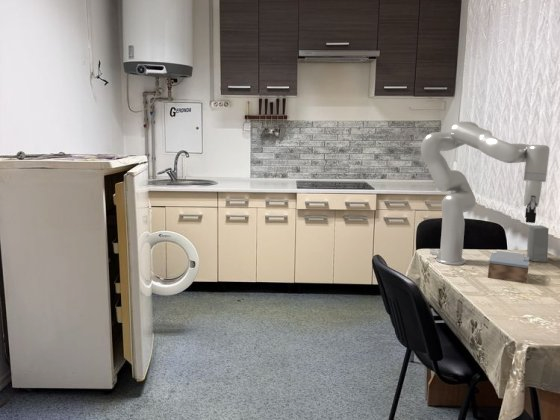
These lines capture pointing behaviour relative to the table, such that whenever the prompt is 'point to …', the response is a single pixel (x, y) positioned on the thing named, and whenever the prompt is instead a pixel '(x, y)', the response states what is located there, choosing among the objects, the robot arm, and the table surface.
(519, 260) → the cover
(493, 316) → the table surface
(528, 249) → the skincare box
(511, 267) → the box
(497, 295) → the table surface
